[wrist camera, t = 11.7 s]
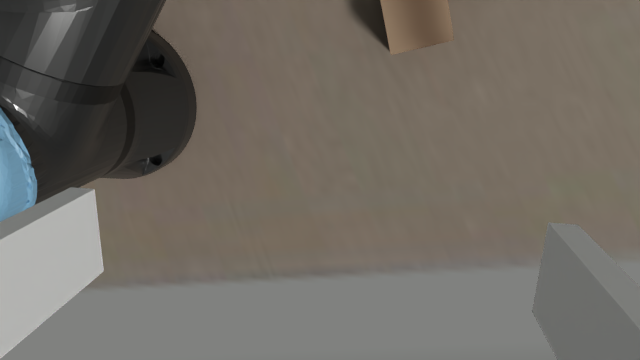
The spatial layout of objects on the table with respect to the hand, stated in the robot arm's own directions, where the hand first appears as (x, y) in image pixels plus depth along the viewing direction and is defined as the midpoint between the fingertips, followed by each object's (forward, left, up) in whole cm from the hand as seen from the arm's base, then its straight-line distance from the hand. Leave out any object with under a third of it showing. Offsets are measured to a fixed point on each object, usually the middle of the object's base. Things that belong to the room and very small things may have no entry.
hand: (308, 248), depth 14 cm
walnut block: (+3, +8, -33) cm, 34 cm away
